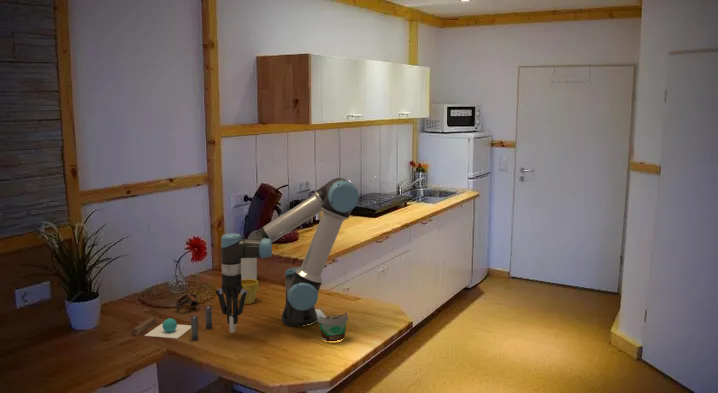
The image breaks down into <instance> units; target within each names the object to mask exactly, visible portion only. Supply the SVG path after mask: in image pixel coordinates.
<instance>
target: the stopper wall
mask: <svg viewBox="0 0 718 393" xmlns="http://www.w3.org/2000/svg"><path fill="white" fill-rule="evenodd" d="M156 318H157V317H156V316H154V317H153V316H150V317H149V318H148V319H145V320H144V321H142V322H141V323H140V324H138V325H136V326H135V327H134V328H132V336H139V335H140V334H142V333H143V332H144V331H145V332H146V330H148V329H149V328H151V327H152V326H154V325H156V323H157V321H156V320H157V319H156Z"/></svg>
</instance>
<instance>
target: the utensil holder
mask: <svg viewBox="0 0 718 393" xmlns="http://www.w3.org/2000/svg"><path fill="white" fill-rule="evenodd" d="M257 263H258V258H241V277H242V280H243V279H254V280H257V278H258V264H257ZM257 281H258V280H257Z"/></svg>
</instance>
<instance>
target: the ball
mask: <svg viewBox="0 0 718 393" xmlns="http://www.w3.org/2000/svg"><path fill="white" fill-rule="evenodd" d="M162 323H163V329H164V330H165V331H166V332H173V331H174V330H175V329H176V327H177V321H176V319H174V318H171V317H169V318H167V319H165V320H163V322H162Z"/></svg>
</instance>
